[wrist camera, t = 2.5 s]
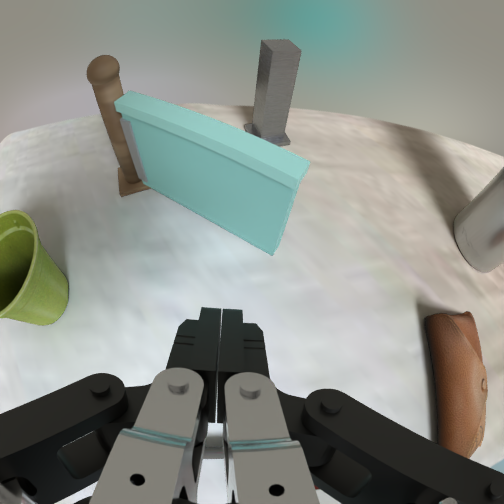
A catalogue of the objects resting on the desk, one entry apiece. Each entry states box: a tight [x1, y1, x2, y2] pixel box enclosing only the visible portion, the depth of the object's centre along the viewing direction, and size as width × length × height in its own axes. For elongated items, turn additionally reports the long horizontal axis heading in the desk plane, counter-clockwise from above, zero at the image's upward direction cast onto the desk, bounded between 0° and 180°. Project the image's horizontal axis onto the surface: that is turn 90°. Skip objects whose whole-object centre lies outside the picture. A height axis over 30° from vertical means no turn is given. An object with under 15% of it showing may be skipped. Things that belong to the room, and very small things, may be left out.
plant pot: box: [0, 210, 68, 325], centre depth 20 cm, size 9×9×9 cm
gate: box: [114, 91, 310, 256], centre depth 23 cm, size 16×2×11 cm, turn 59°
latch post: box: [245, 40, 301, 146], centre depth 29 cm, size 4×4×13 cm
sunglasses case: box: [425, 311, 488, 459], centre depth 21 cm, size 18×7×7 cm
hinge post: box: [87, 55, 150, 197], centre depth 23 cm, size 4×4×16 cm
